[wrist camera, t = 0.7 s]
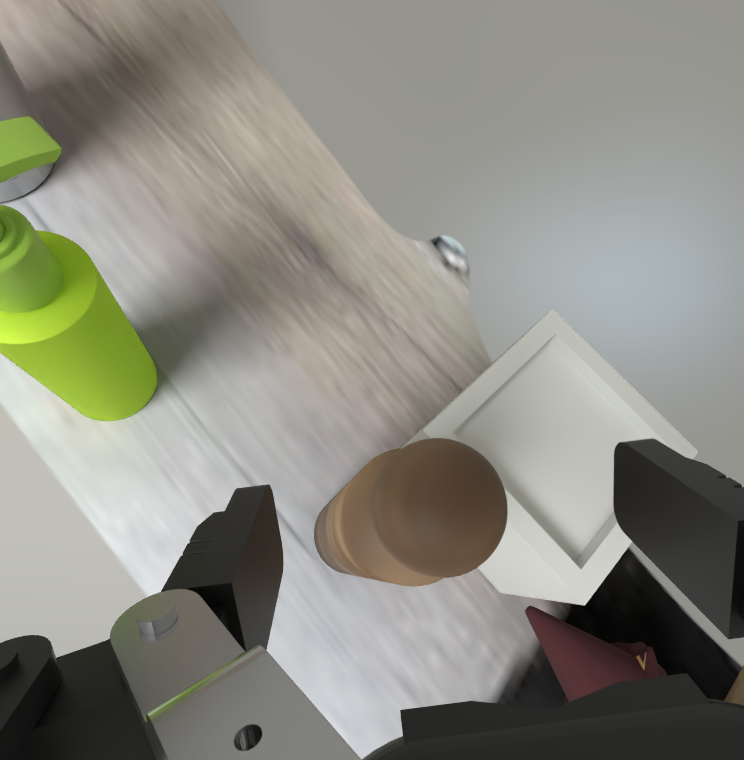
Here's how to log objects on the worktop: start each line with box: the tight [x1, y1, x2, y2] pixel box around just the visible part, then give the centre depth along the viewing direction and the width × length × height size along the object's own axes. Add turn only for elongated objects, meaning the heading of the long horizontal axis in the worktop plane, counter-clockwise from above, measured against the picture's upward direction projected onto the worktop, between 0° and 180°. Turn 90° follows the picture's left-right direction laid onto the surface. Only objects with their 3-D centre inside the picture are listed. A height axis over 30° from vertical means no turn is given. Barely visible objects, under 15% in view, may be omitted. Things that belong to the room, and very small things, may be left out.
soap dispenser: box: [0, 116, 158, 421], centre depth 25 cm, size 6×7×20 cm
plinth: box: [400, 309, 698, 605], centre depth 33 cm, size 12×12×10 cm
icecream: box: [525, 606, 667, 704], centre depth 30 cm, size 7×8×15 cm
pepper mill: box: [314, 438, 508, 586], centre depth 24 cm, size 5×5×22 cm
